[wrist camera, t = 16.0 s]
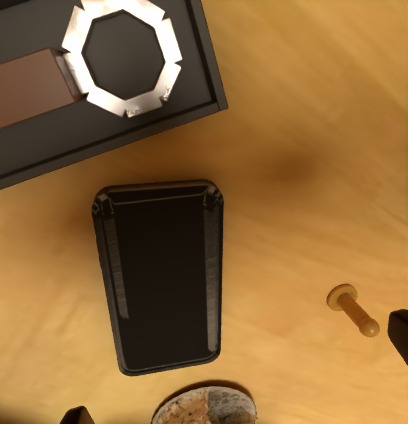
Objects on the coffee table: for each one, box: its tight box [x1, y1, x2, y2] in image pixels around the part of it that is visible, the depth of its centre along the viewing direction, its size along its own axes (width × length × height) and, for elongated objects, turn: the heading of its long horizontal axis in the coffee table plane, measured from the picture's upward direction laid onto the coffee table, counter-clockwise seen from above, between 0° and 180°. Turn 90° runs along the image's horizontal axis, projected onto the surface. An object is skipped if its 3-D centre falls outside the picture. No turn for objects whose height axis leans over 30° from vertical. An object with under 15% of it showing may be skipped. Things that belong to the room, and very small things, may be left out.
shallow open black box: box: [0, 0, 228, 190], centre depth 15 cm, size 16×8×2 cm, turn 107°
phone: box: [92, 180, 224, 376], centre depth 21 cm, size 8×1×15 cm
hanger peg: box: [327, 284, 380, 337], centre depth 24 cm, size 3×3×4 cm
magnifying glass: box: [0, 0, 183, 129], centre depth 14 cm, size 14×5×3 cm, turn 107°
